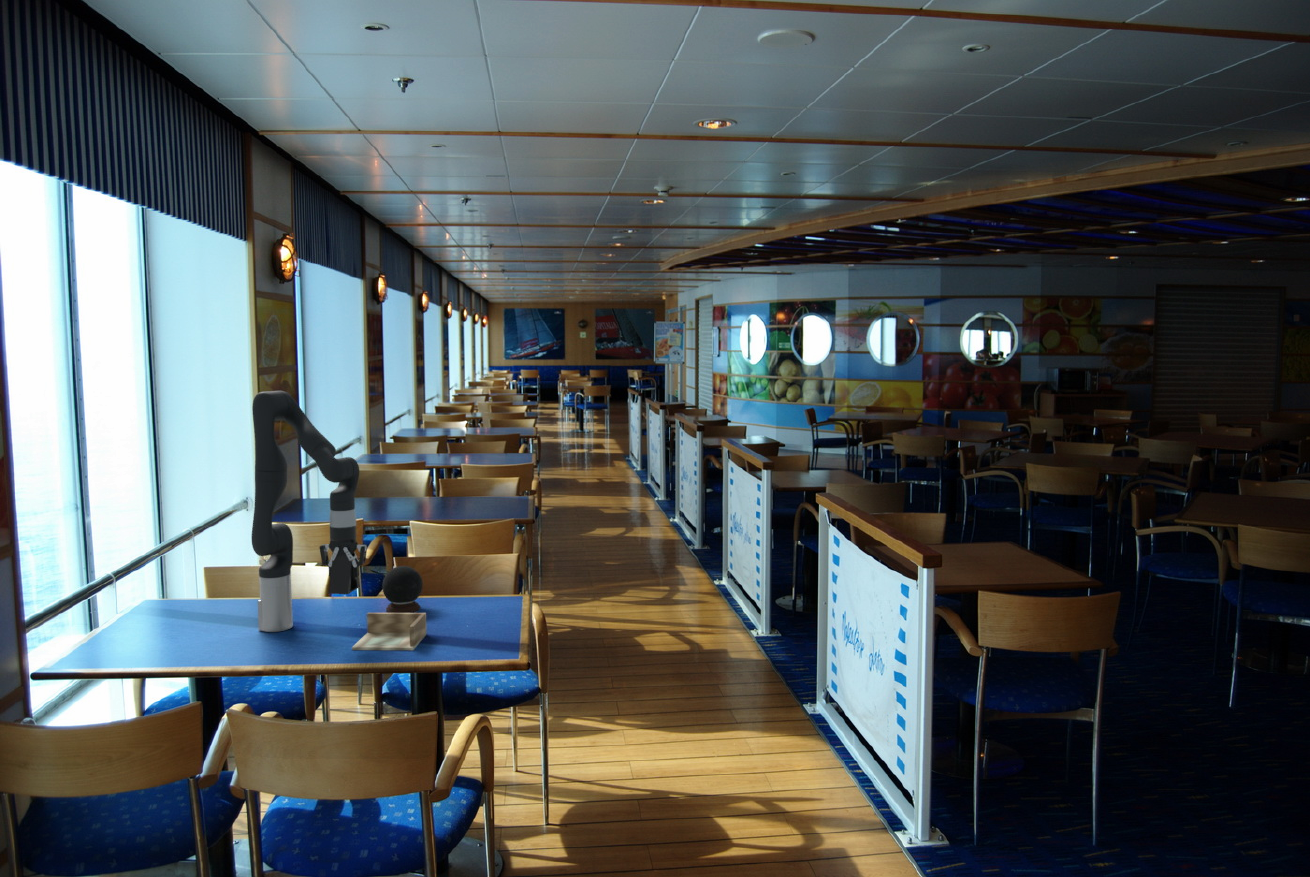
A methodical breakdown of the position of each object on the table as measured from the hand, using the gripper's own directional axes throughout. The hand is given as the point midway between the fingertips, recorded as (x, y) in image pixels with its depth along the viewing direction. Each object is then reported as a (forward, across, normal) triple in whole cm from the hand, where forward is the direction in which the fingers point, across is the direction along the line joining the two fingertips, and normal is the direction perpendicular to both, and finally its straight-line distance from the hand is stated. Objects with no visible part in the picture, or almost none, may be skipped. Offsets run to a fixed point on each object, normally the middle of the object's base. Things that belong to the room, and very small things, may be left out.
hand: (344, 578), depth 273 cm
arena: (+19, +14, -2) cm, 24 cm away
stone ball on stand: (+19, +8, +32) cm, 38 cm away
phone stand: (+4, 0, 0) cm, 4 cm away
